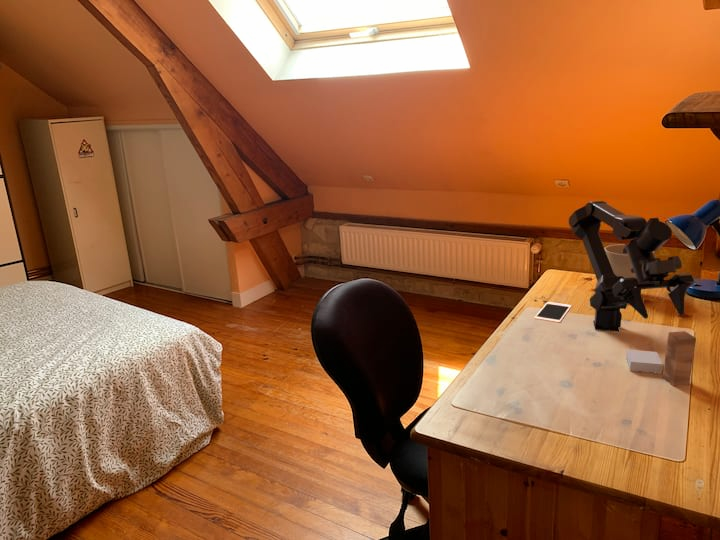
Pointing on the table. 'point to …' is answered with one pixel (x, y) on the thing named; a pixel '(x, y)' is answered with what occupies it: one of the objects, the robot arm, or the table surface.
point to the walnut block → (679, 358)
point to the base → (643, 361)
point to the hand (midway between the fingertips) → (664, 316)
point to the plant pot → (619, 261)
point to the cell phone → (553, 312)
